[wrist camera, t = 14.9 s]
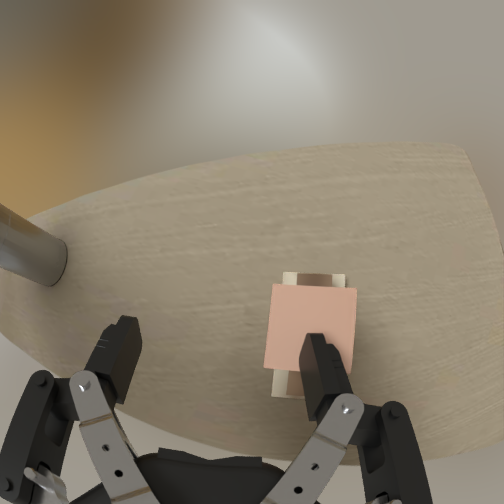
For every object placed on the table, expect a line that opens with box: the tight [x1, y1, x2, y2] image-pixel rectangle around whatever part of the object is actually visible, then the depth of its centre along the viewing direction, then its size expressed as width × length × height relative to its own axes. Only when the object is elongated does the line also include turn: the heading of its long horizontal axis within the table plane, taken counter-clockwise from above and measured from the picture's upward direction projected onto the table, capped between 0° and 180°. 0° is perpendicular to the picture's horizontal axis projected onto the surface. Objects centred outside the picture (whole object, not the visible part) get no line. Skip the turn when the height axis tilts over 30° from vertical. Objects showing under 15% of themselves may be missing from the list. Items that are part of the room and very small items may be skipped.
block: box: [263, 284, 357, 374], centre depth 19 cm, size 4×4×12 cm
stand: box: [271, 272, 345, 399], centre depth 27 cm, size 7×14×5 cm, turn 174°
